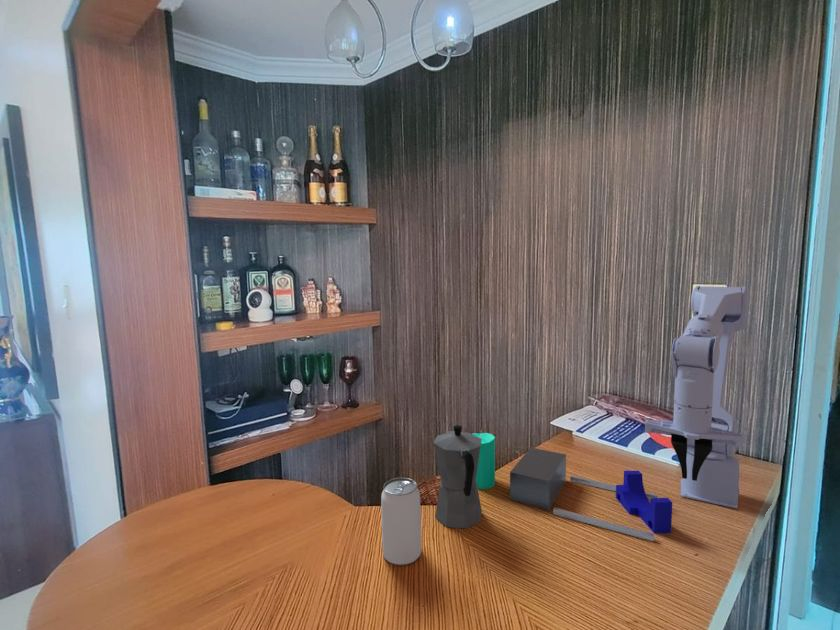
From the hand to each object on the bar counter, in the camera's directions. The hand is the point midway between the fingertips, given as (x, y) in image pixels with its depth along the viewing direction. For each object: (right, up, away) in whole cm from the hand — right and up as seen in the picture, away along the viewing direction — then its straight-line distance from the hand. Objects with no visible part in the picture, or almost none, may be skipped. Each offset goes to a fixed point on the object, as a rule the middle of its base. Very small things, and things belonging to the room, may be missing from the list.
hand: (689, 477), depth 77 cm
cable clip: (-6, -10, +5) cm, 12 cm away
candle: (-35, -8, +19) cm, 40 cm away
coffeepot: (-41, -10, +5) cm, 42 cm away
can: (-51, -11, -5) cm, 53 cm away
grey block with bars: (-16, -9, +11) cm, 21 cm away
